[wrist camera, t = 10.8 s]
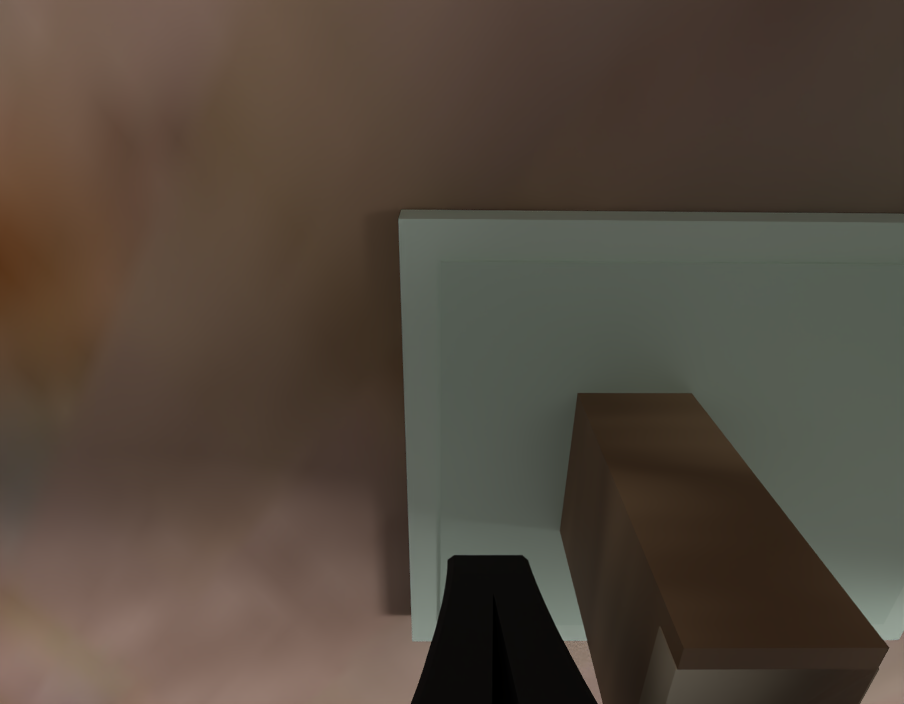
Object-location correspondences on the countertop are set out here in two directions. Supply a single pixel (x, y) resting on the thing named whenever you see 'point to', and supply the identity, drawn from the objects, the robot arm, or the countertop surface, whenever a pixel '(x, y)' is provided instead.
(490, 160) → the countertop surface
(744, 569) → the walnut block
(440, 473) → the tray
